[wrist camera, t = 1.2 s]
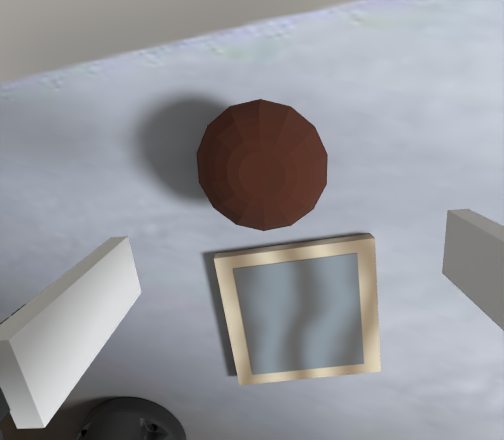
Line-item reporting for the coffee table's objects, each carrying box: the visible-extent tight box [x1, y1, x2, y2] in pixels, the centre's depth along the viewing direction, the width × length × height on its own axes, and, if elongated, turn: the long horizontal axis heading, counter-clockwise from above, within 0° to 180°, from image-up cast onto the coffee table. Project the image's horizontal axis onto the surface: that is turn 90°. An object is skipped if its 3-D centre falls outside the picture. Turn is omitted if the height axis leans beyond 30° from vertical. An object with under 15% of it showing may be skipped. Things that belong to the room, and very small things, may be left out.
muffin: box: [197, 99, 327, 231], centre depth 30 cm, size 12×11×10 cm
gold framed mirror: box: [214, 234, 381, 385], centre depth 39 cm, size 18×18×2 cm
